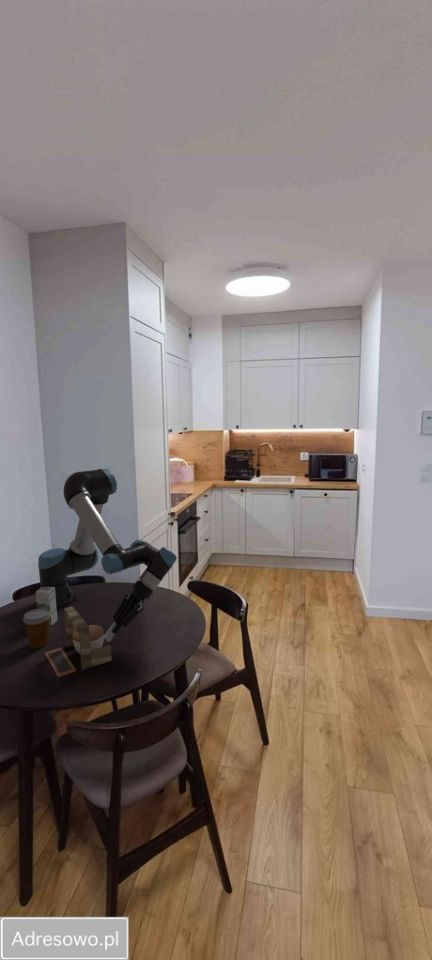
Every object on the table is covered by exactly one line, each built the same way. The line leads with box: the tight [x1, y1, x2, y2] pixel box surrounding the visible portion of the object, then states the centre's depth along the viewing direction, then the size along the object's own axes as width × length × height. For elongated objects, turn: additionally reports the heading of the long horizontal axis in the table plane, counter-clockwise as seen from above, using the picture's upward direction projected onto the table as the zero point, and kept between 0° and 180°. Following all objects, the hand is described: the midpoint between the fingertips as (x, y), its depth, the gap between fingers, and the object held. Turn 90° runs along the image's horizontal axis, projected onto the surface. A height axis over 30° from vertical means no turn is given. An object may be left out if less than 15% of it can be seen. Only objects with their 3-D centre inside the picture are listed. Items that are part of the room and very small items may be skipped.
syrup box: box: [35, 587, 58, 627], centre depth 183 cm, size 6×6×14 cm
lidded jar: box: [72, 624, 105, 655], centre depth 160 cm, size 11×11×9 cm
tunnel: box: [63, 606, 113, 671], centre depth 159 cm, size 19×10×14 cm, turn 34°
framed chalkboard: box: [44, 647, 77, 678], centre depth 155 cm, size 18×6×1 cm, turn 34°
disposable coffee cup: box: [22, 608, 51, 649], centre depth 166 cm, size 10×10×12 cm
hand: (106, 639), depth 163 cm, fingers closed
